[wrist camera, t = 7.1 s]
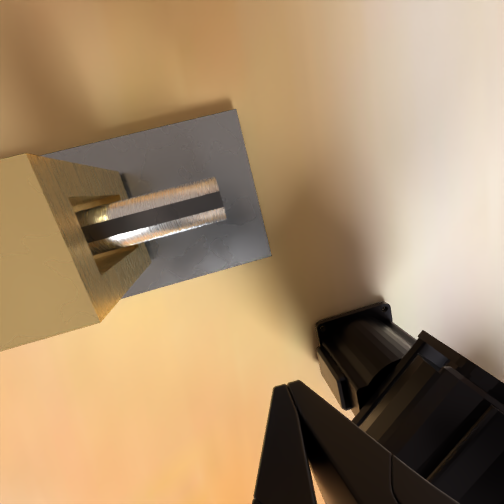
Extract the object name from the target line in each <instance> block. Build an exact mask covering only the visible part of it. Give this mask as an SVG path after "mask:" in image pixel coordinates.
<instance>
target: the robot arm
mask: <svg viewBox="0 0 504 504" xmlns="http://www.w3.org/2000/svg"><path fill="white" fill-rule="evenodd" d="M383 307H385V308H384V309H383V310H382V308H383ZM321 326H324V327H323V328H322V329H320V327H321ZM315 329H316V333H317V338H318V342H319V347H317V350H316V351H317V356H318V360H319V365H320V370H321V374H322V376H323V377H324V379H325V381H326V382H327V384H328V386H329V387H330V389H331V391H332V393H333V394H334V396H335V398H336V399H337V401H338V403H339V404H340V406H341V408H342V409H344V410H349V409H351V410H352V412H353V413H354V415H355V417H354V419H353V420H352V421H350V420H349V419H348V418H347V417H345V416H344V415H343V414H342V413H340V412H339V411H338V410H337V409H335V408H334V407H333V406H332V405H330V404H329V403H328V402H327V401H325V400H324V399H323V398H322V397H320V396H319V395H318V394H317V393H315V392H314V391H313V390H311V389H310V388H309V387H308V386H306V385H305V384H304V383H303V382H301V381H300V380H296V381H293V382H289V383H288V384H287V385H286V384H282V385H279V386H275V387H274V388H273V392H272V398H271V403H270V409H269V414H268V420H267V425H266V431H265V436H264V441H263V447H262V452H261V458H260V463H259V469H258V474H257V480H256V485H255V491H254V499H253V501H252V504H317V501H316V496H315V491H314V486H313V481H312V476H311V471H310V468H311V470H312V473H313V475H314V478H315V480H316V482H317V485H318V487H319V489H320V492H321V494H322V496H323V499H324V501H325V503H326V504H504V383H502V382H501V381H499V380H498V379H496V378H495V377H493V376H492V375H490V374H489V373H488V372H486V371H485V370H483V369H482V368H480V367H479V366H477V365H476V364H474V363H473V362H471V361H470V360H468V359H467V358H465V357H463V356H462V355H460V354H459V353H457V352H456V351H454V350H453V349H451V348H450V347H448V346H447V345H445V344H443V343H442V342H440V341H439V340H437V339H436V338H434V337H433V336H431V335H430V334H428V333H427V332H425V331H423V330H422V332H421V333H420V334H419V335H418V337H419V338H418V339H417V340H416V339H415V338H413V337H412V336H411V335H409V334H408V333H407V332H405V331H404V330H402V329H401V328H400V327H398V326H397V325H396V324H394V323H393V322H392V314H391V307H390V305H389V304H387V303H386V302H380V303H376V304H373V305H370V306H367V307H363V308H360V309H357V310H354V311H350V312H347V313H344V314H341V315H337V316H334V317H331V318H328V319H324V320H321V321H319V322H317V323H316V325H315ZM309 465H310V466H309Z"/></svg>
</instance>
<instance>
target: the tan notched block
mask: <svg viewBox="0 0 504 504" xmlns="http://www.w3.org/2000/svg"><path fill="white" fill-rule="evenodd" d="M124 199H128V196H127V193H126V190H125V188H124V185H123V182H122V179H121V177H120V174H119V172H118V171H113V170H108V169H103V168H98V167H93V166H88V165H83V164H78V163H73V162H68V161H62V160H57V159H52V158H47V157H42V156H37V155H32V154H27V153H25V154H20V155H16V156H12V157H8V158H4V159H0V351H4V350H7V349H11V348H14V347H18V346H21V345H25V344H28V343H31V342H35V341H38V340H42V339H45V338H49V337H52V336H56V335H59V334H63V333H66V332H69V331H73V330H76V329H80V328H83V327H87V326H90V325H94V324H97V323H100V322H101V321H102V320H103V319H104V318H105V317H106V315H107V314H108V313H109V312H110V311H111V309H112V308H113V307H114V306H115V305H116V304H117V302H118V301H119V300H120V299H121V298H122V297H123V295H124V294H125V293H126V292H127V291H128V290H129V288H130V287H131V286H132V285H133V284H134V283H135V281H136V280H137V279H138V278H139V277H140V276H141V274H142V273H143V272H144V271H145V270H146V268H147V267H148V266H149V265H150V264H151V263H152V262H151V259H150V256H149V254H148V251H147V248H146V245H145V243H144V242H142V243H138V244H134V245H131V246H127V247H123V248H119V249H116V250H112V251H108V252H105V253H101V254H97V255H94V256H93V255H92V253H91V251H90V248H89V246H88V243H87V241H86V239H85V236H84V234H83V232H82V229H81V227H80V224H79V222H78V220H77V217H76V215H75V212H77V211H81V210H85V209H89V208H93V207H97V206H101V205H105V204H109V203H112V202H116V201H120V200H124Z"/></svg>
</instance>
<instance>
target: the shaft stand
mask: <svg viewBox="0 0 504 504" xmlns="http://www.w3.org/2000/svg"><path fill="white" fill-rule="evenodd" d="M41 156H42V157H47V158H52V159H57V160H62V161H68V162H73V163H78V164H83V165H88V166H93V167H98V168H103V169H108V170H113V171H118V172H119V174H120V177H121V179H122V182H123V185H124V188H125V190H126V193H127V196H128V199H124V200H120V201H116V202H112V203H109V204H105V205H101V206H97V207H93V208H89V209H85V210H81V211H77V212H75V215H76V217H77V220H78V222H79V224H80V227H81V229H82V232H83V234H84V236H85V239H86V241H87V243H88V246H89V248H90V251H91V253H92V255H93V256H94V255H97V254H101V253H105V252H108V251H112V250H116V249H119V248H123V247H127V246H131V245H134V244H138V243H142V242H144V243H145V245H146V248H147V251H148V254H149V256H150V259H151V262H152V263H151V264H150V265H149V266H148V267H147V268H146V270H145V271H144V272H143V273H142V274H141V276H140V277H139V278H138V279H137V280H136V281H135V283H134V284H133V285H132V286H131V287H130V288H129V290H128V291H127V292H126V293H125V294H124V295H123V297H122V298H126V297H129V296H133V295H136V294H140V293H143V292H147V291H150V290H154V289H157V288H161V287H164V286H168V285H171V284H175V283H178V282H182V281H185V280H189V279H192V278H196V277H199V276H203V275H206V274H210V273H213V272H217V271H220V270H224V269H227V268H231V267H234V266H238V265H242V264H245V263H249V262H252V261H256V260H259V259H263V258H266V257H270V256H272V255H271V251H270V247H269V243H268V239H267V235H266V230H265V226H264V222H263V218H262V214H261V210H260V206H259V202H258V197H257V193H256V189H255V185H254V181H253V177H252V173H251V169H250V164H249V160H248V156H247V152H246V148H245V144H244V140H243V136H242V131H241V127H240V123H239V119H238V115H237V111H236V109H233V110H229V111H225V112H221V113H217V114H212V115H208V116H204V117H200V118H196V119H192V120H187V121H183V122H179V123H175V124H171V125H166V126H162V127H158V128H154V129H150V130H145V131H141V132H137V133H133V134H129V135H125V136H120V137H116V138H112V139H108V140H104V141H99V142H95V143H91V144H87V145H83V146H79V147H74V148H70V149H66V150H62V151H58V152H53V153H49V154H45V155H41ZM122 298H121V299H122Z"/></svg>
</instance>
